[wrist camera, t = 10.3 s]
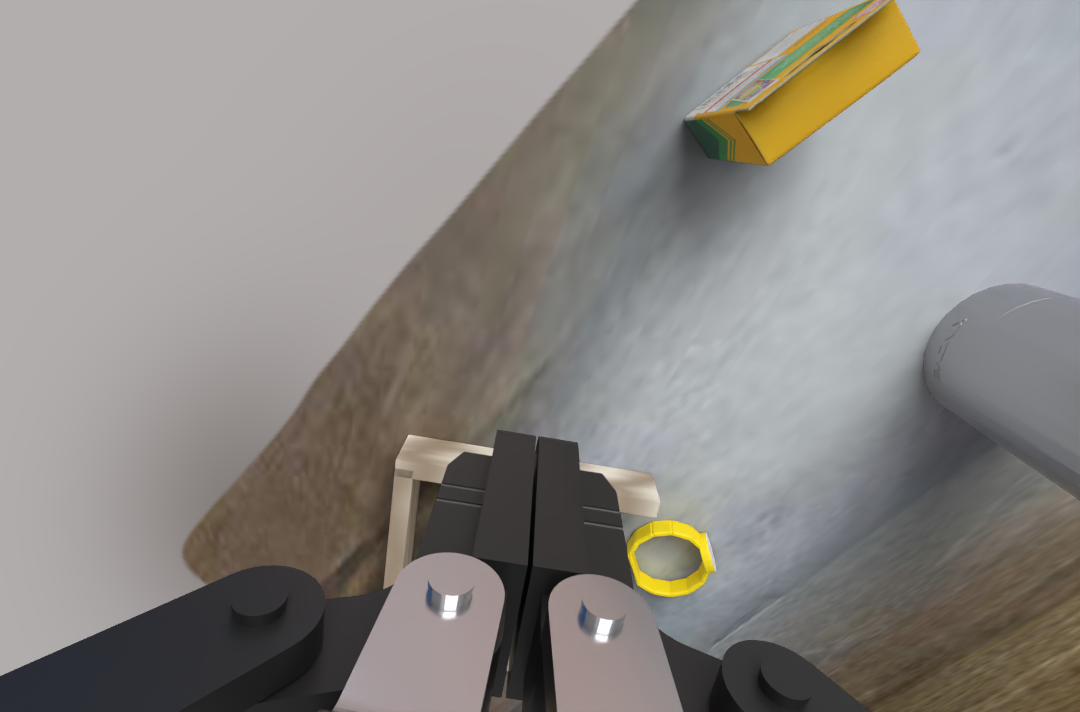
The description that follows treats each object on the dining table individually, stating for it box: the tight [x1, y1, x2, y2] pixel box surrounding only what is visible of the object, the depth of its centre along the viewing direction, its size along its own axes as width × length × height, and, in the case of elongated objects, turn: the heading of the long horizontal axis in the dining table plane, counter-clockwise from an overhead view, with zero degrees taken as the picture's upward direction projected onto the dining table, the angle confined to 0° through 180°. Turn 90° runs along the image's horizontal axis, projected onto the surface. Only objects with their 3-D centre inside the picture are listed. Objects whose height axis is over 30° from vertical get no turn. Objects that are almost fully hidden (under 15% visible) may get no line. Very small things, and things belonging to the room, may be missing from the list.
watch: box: [627, 520, 716, 597], centre depth 43 cm, size 6×3×6 cm
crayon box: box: [685, 0, 920, 166], centre depth 28 cm, size 7×3×12 cm, turn 128°
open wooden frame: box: [383, 435, 660, 671], centre depth 43 cm, size 17×16×4 cm
